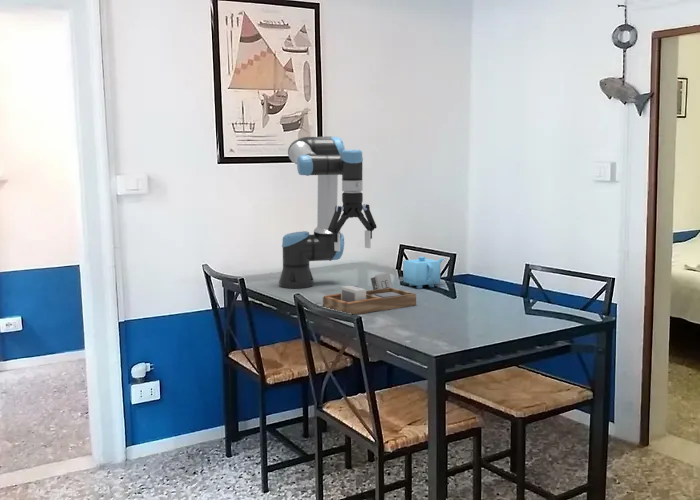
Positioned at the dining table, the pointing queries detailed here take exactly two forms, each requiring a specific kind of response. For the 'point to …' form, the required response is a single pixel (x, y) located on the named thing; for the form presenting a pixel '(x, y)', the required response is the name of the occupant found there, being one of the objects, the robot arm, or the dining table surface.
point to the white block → (352, 293)
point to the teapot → (421, 272)
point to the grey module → (386, 294)
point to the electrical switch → (381, 281)
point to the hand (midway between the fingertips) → (352, 249)
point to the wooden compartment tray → (371, 302)
